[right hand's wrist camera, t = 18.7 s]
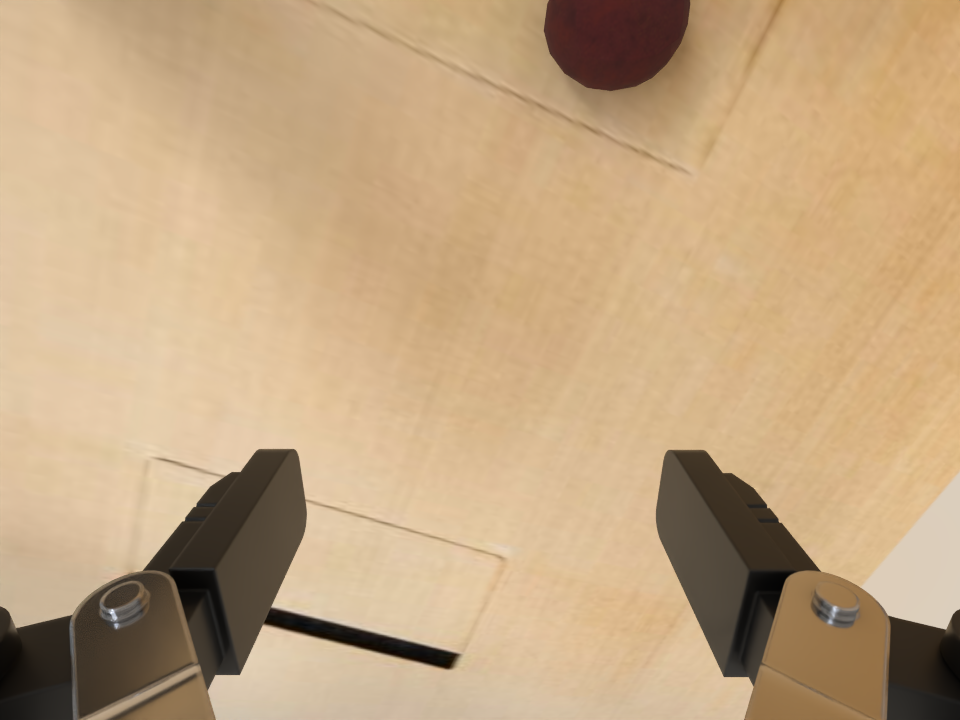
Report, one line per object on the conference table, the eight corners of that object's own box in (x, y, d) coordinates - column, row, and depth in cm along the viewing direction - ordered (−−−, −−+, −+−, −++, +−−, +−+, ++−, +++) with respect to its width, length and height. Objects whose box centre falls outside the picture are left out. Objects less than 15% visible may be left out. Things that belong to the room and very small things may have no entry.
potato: (663, 88, 34) (707, 73, 27) (542, 104, 34) (557, 93, 27) (664, -51, 31) (713, -105, 24) (533, -32, 31) (547, -81, 25)
